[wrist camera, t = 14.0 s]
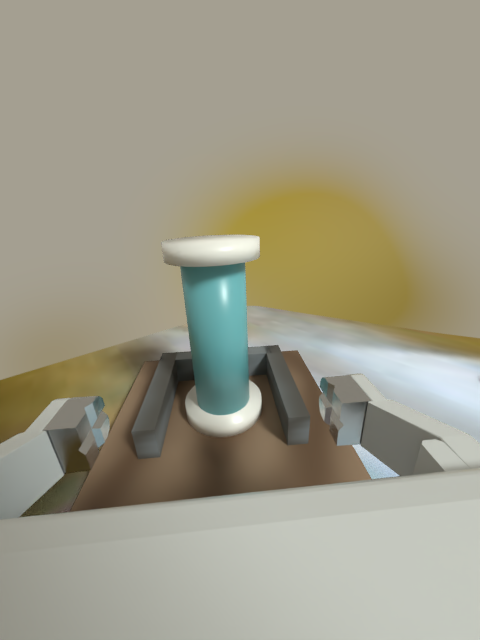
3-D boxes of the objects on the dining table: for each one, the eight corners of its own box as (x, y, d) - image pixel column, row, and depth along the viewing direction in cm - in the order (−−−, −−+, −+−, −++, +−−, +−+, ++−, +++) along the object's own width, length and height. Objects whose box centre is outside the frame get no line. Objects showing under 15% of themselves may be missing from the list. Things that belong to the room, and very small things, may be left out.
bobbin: (182, 440, 20) (150, 247, 14) (190, 388, 26) (170, 237, 20) (267, 433, 20) (266, 241, 15) (256, 383, 26) (253, 233, 21)
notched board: (65, 554, 15) (41, 506, 13) (146, 372, 31) (140, 342, 30) (380, 519, 16) (393, 471, 14) (296, 361, 32) (298, 331, 31)
